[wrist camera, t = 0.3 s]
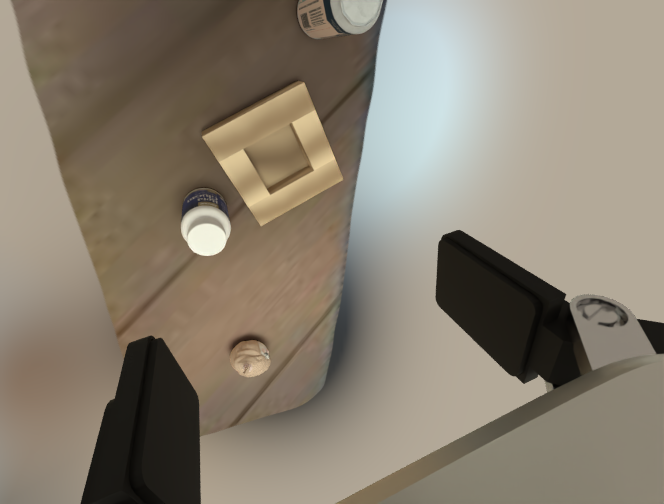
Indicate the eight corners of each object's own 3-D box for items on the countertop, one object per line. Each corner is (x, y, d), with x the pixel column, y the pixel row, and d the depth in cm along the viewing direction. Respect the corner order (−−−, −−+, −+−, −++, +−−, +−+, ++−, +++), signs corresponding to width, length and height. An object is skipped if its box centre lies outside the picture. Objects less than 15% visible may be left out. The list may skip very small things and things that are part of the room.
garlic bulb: (266, 329, 56) (275, 364, 50) (267, 354, 60) (276, 390, 53) (227, 337, 54) (231, 374, 48) (230, 362, 57) (235, 401, 51)
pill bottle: (218, 181, 41) (223, 210, 33) (232, 217, 44) (240, 252, 36) (175, 193, 40) (170, 226, 32) (192, 229, 43) (192, 268, 35)
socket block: (201, 131, 37) (202, 136, 35) (297, 80, 38) (304, 82, 36) (257, 217, 45) (260, 226, 43) (335, 173, 46) (343, 179, 44)
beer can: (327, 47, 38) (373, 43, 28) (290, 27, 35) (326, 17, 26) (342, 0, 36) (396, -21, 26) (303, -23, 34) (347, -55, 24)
